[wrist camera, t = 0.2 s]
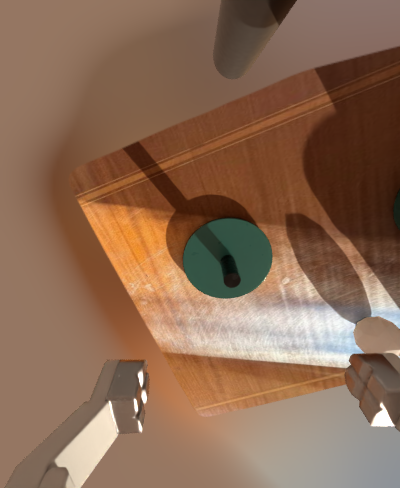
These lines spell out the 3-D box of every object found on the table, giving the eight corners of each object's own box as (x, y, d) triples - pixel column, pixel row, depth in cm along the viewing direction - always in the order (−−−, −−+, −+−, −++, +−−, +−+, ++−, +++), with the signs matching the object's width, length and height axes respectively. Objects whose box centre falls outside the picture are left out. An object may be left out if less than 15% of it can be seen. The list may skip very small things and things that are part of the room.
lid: (182, 216, 37) (178, 231, 31) (275, 216, 37) (291, 231, 31) (184, 295, 43) (181, 322, 36) (265, 294, 43) (277, 321, 36)
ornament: (375, 301, 43) (427, 335, 38) (361, 321, 49) (405, 353, 43) (352, 323, 41) (404, 362, 36) (339, 342, 46) (383, 378, 41)
